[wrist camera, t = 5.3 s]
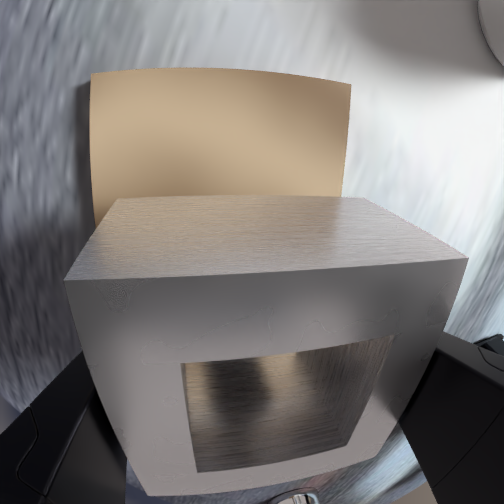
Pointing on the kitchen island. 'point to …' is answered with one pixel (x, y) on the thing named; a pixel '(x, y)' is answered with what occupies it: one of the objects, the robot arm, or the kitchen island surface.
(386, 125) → the kitchen island surface
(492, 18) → the can
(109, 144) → the peg stand
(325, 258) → the steel collar
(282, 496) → the beer glass
